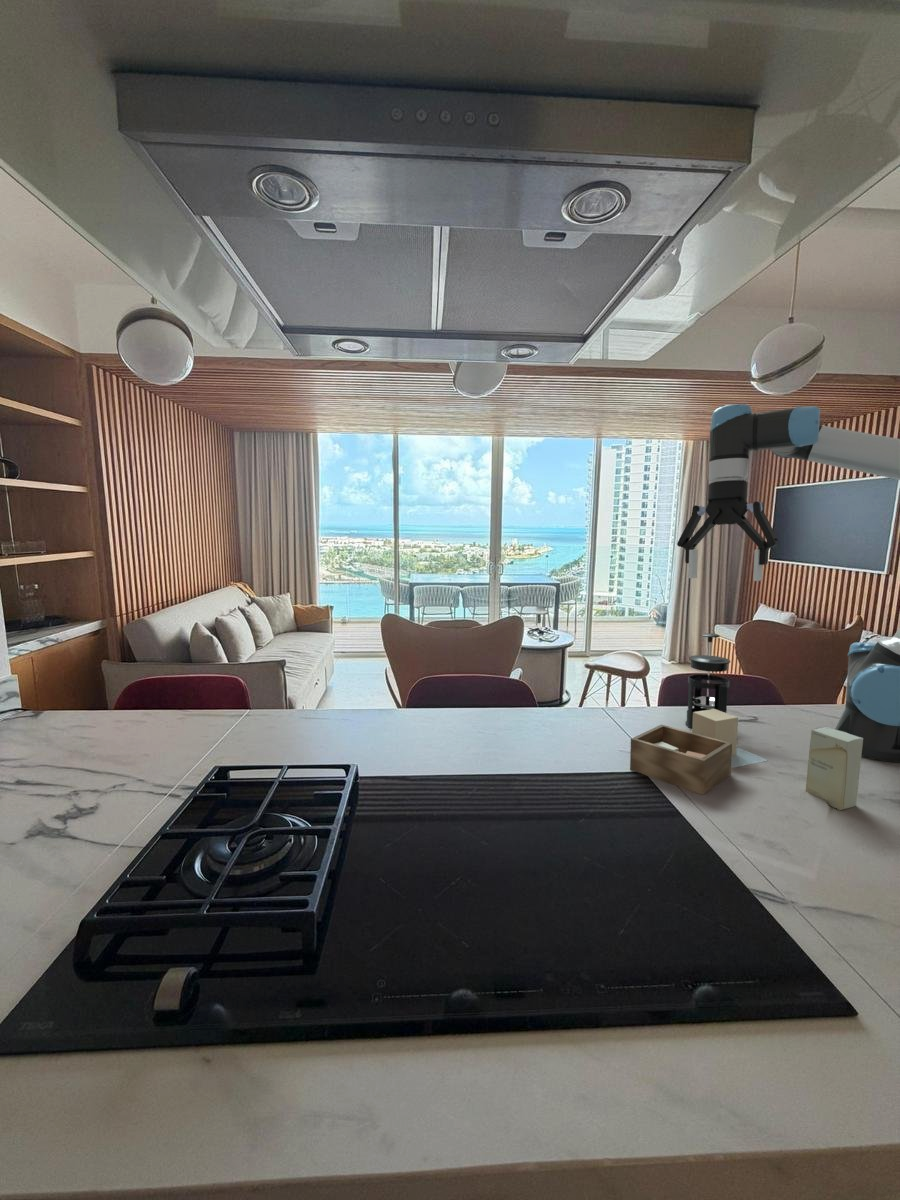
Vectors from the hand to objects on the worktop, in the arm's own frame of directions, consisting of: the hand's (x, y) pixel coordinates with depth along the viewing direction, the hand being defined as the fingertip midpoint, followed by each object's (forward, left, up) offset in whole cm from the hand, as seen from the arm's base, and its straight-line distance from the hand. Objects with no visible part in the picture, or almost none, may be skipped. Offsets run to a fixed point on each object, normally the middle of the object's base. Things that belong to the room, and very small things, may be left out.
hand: (723, 579), depth 114 cm
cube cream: (0, +24, -36) cm, 43 cm away
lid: (-3, +9, -37) cm, 38 cm away
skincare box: (-25, +14, -37) cm, 47 cm away
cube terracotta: (-6, +24, -36) cm, 44 cm away
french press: (+5, -7, -37) cm, 38 cm away
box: (-3, +24, -37) cm, 44 cm away
